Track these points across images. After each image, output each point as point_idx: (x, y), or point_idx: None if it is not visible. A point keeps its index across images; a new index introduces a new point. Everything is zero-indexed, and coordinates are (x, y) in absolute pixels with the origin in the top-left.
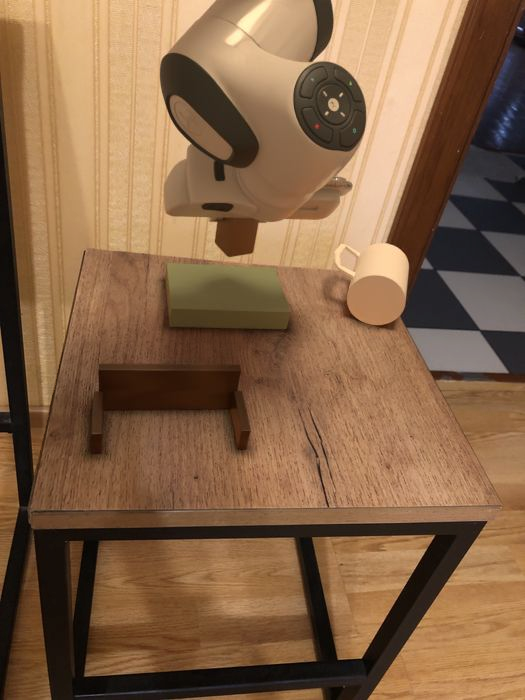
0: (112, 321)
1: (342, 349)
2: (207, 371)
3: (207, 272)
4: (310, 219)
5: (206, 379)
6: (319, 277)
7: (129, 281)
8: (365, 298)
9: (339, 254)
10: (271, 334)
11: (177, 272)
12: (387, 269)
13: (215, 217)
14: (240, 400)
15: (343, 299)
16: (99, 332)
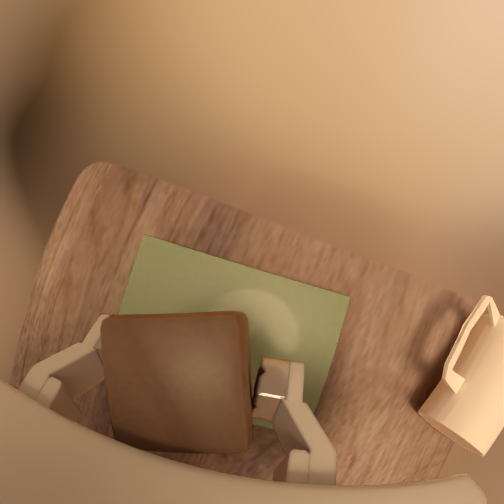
0: (58, 322)
1: (356, 471)
2: None
3: (203, 284)
4: None
5: None
6: (428, 293)
7: (105, 234)
8: (441, 427)
9: (468, 334)
10: (268, 428)
11: (148, 270)
12: (495, 427)
13: (93, 386)
14: None
15: (432, 360)
16: (42, 338)
